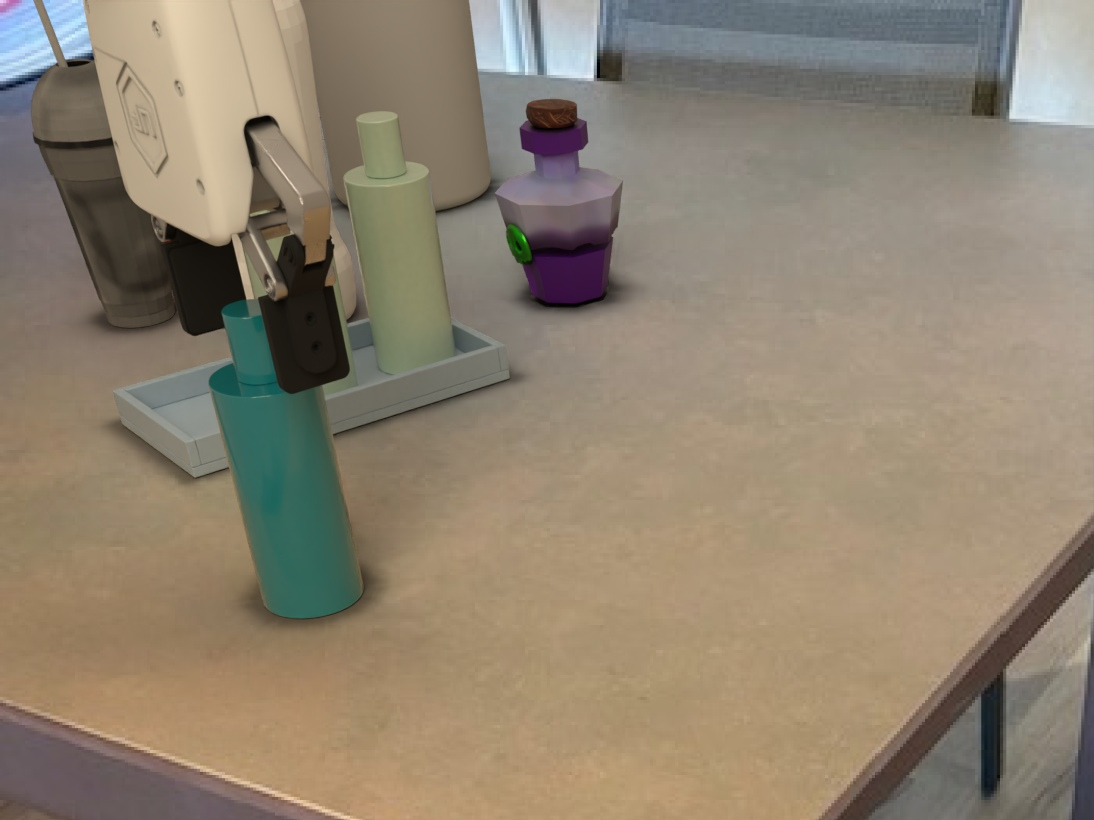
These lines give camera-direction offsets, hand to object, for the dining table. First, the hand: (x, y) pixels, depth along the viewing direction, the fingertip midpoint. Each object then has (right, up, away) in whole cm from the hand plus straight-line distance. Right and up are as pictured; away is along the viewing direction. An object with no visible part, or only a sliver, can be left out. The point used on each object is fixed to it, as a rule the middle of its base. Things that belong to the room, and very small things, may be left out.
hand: (265, 354), depth 74 cm
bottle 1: (-9, +17, +38) cm, 42 cm away
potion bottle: (+9, +20, +40) cm, 45 cm away
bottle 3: (+1, +11, +29) cm, 31 cm away
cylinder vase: (-5, +36, +58) cm, 68 cm away
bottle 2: (-4, +8, +26) cm, 28 cm away
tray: (-4, +8, +26) cm, 28 cm away
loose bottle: (0, -9, +8) cm, 12 cm away
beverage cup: (-20, +18, +39) cm, 47 cm away
